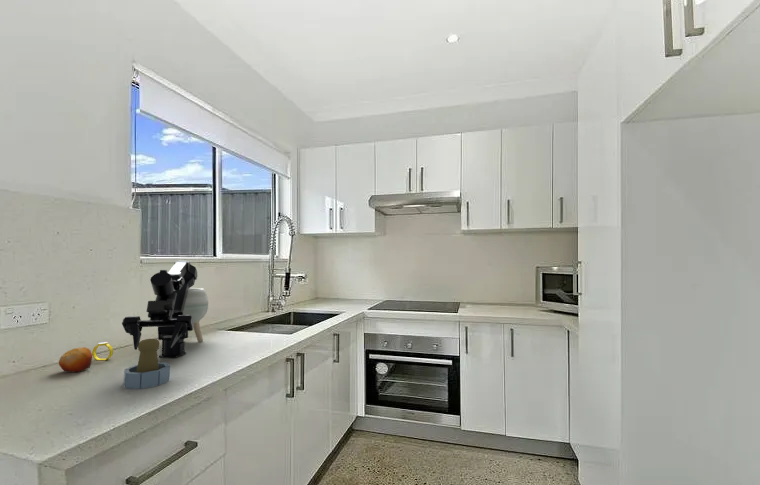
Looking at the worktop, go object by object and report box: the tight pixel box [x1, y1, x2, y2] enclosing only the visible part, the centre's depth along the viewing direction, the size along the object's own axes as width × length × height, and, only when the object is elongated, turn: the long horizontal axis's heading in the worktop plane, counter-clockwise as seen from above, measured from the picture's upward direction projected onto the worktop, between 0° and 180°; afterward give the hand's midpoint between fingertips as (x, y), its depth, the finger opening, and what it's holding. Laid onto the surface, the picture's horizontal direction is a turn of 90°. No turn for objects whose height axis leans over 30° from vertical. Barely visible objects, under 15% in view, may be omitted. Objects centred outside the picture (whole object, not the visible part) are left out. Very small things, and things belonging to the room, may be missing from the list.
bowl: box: [122, 362, 171, 390], centre depth 103 cm, size 11×11×4 cm
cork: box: [136, 338, 160, 373], centre depth 103 cm, size 6×6×11 cm
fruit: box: [58, 346, 93, 373], centre depth 113 cm, size 8×8×8 cm
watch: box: [91, 341, 114, 361], centre depth 124 cm, size 6×3×6 cm, turn 95°
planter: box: [174, 287, 209, 343], centre depth 151 cm, size 16×16×22 cm
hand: (153, 348), depth 108 cm, fingers open, 9 cm apart
